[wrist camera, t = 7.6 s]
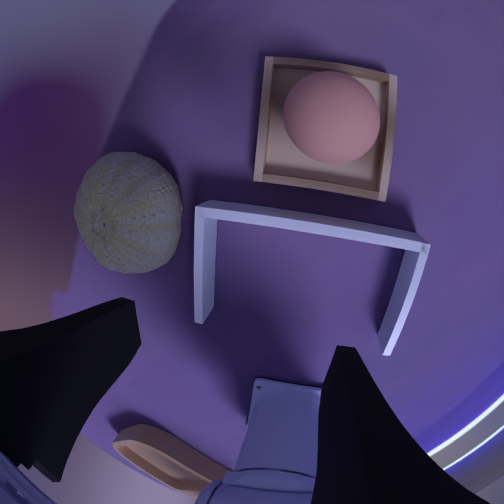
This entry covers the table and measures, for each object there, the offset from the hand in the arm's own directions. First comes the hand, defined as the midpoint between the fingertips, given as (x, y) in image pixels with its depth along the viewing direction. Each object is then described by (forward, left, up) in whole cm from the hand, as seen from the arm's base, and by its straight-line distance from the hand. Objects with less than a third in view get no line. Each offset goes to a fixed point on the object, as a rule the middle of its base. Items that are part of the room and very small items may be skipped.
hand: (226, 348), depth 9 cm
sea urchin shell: (+2, +11, -11) cm, 15 cm away
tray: (+9, -3, -10) cm, 14 cm away
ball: (+9, -3, -10) cm, 13 cm away
